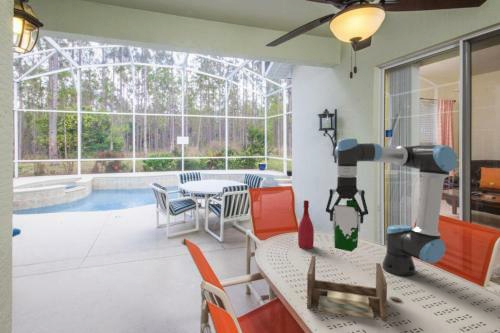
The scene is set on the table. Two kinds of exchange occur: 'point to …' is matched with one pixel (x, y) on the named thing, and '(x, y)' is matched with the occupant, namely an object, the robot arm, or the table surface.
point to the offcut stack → (345, 304)
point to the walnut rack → (349, 289)
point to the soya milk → (346, 225)
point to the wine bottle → (305, 229)
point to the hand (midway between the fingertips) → (346, 229)
